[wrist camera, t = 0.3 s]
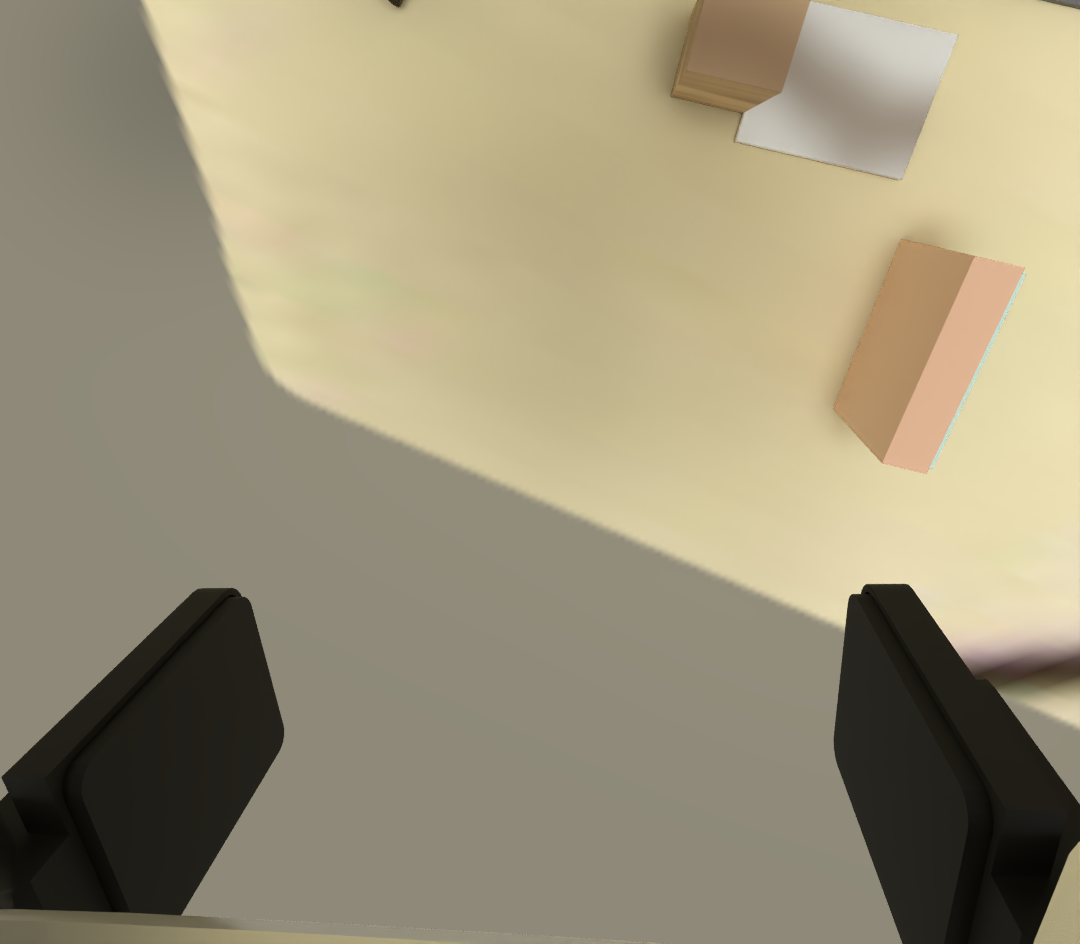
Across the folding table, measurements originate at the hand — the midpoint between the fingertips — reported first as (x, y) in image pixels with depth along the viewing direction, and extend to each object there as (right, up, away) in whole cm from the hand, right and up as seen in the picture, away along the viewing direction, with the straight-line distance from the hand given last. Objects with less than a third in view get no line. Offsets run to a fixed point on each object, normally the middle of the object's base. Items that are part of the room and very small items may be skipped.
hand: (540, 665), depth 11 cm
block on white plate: (+12, +21, +22) cm, 33 cm away
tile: (+18, +10, +26) cm, 33 cm away
